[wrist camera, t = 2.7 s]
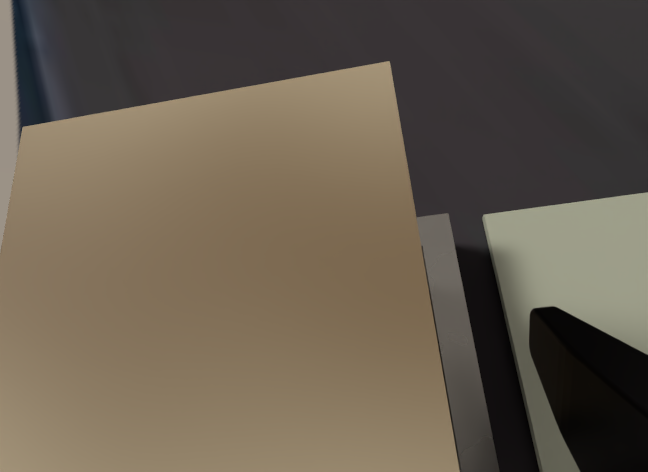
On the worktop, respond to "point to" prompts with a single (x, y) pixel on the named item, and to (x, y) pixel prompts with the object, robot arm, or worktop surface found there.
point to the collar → (456, 347)
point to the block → (221, 289)
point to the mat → (570, 287)
